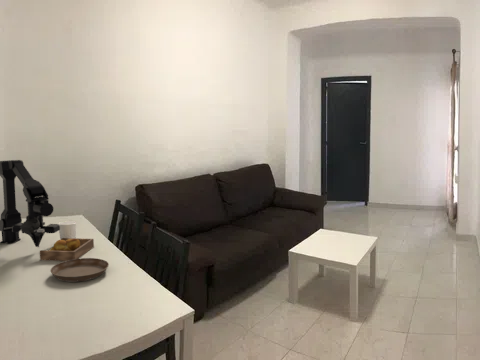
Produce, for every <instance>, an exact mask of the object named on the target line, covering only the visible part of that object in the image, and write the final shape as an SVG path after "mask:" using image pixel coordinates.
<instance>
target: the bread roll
mask: <svg viewBox="0 0 480 360" xmlns="http://www.w3.org/2000/svg"><path fill="white" fill-rule="evenodd" d="M79 247H80V241H79V240H78V239H68V240H66V241H65V240H60V239H57V240H56V242H54V244H53V246H52V247H51V248H50V249H49V251H74V250H76V249H77V248H79Z"/></svg>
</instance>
